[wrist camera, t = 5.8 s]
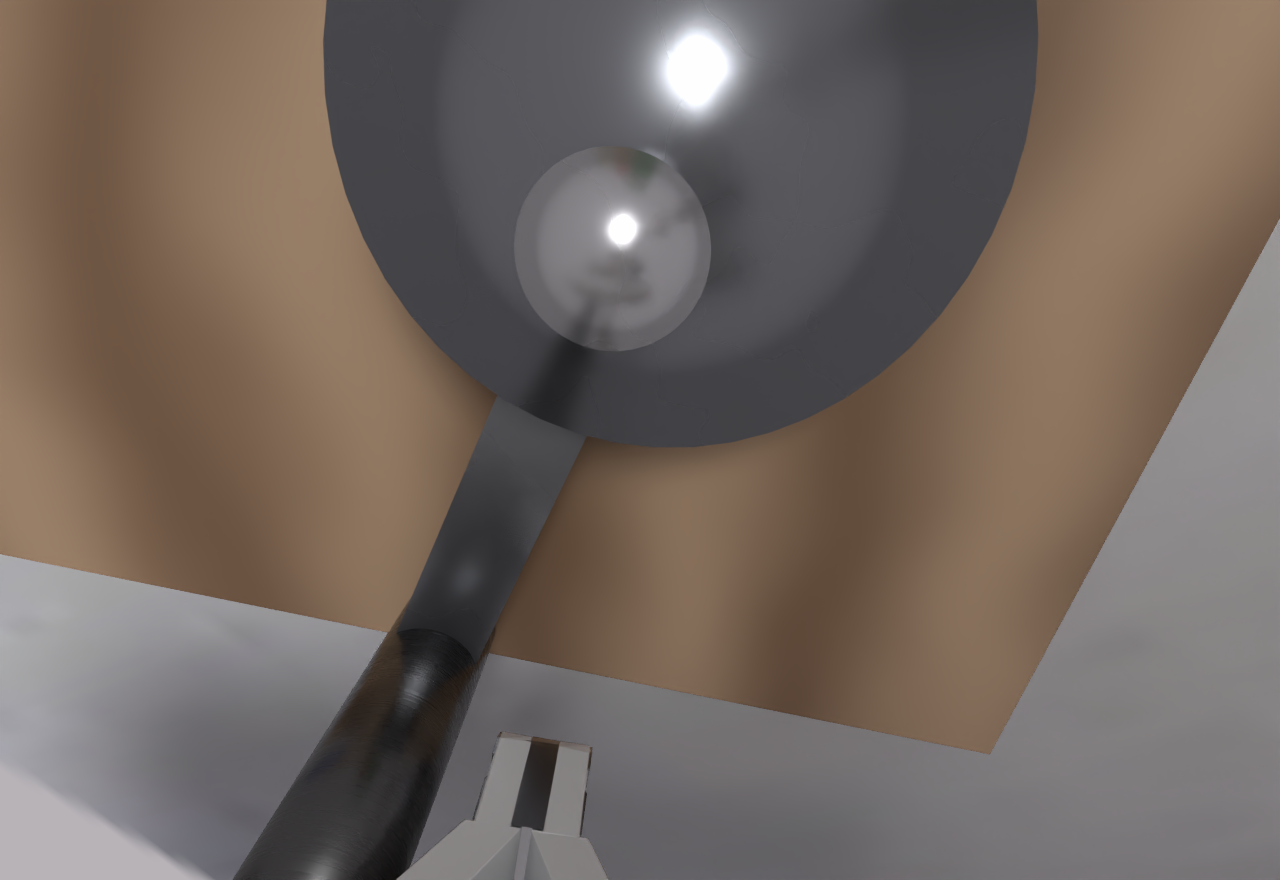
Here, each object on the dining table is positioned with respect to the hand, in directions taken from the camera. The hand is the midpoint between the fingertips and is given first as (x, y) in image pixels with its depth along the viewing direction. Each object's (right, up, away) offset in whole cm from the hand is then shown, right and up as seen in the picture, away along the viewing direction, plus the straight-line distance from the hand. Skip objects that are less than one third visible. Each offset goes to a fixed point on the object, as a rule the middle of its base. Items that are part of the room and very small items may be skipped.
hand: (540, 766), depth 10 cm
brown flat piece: (+1, +12, +2) cm, 12 cm away
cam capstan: (+1, +7, +1) cm, 7 cm away
